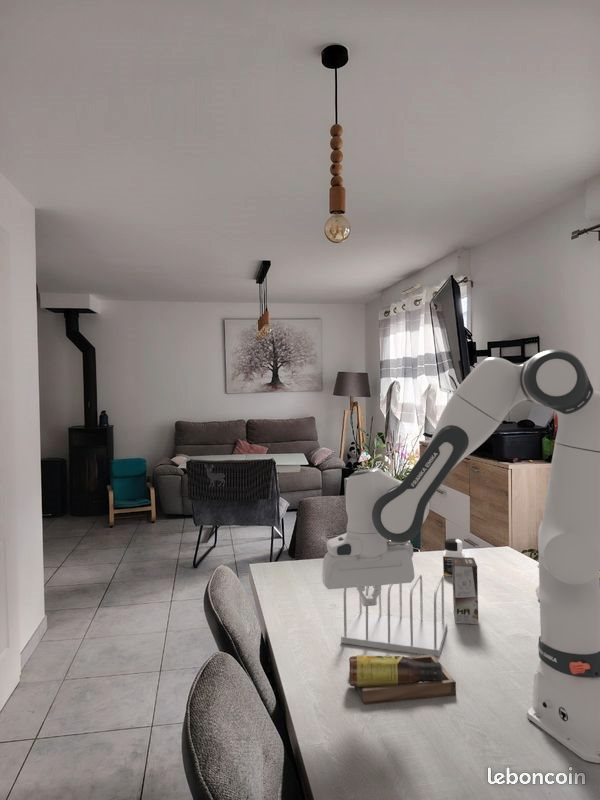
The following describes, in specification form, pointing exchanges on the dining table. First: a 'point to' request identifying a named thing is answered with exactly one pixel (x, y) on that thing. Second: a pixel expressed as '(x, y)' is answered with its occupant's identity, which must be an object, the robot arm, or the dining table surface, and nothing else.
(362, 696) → the wooden tray
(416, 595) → the dining table surface
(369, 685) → the sauce bottle
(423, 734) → the dining table surface
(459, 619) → the coffee box
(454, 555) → the white plastic bottle
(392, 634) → the file sorter
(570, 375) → the robot arm
